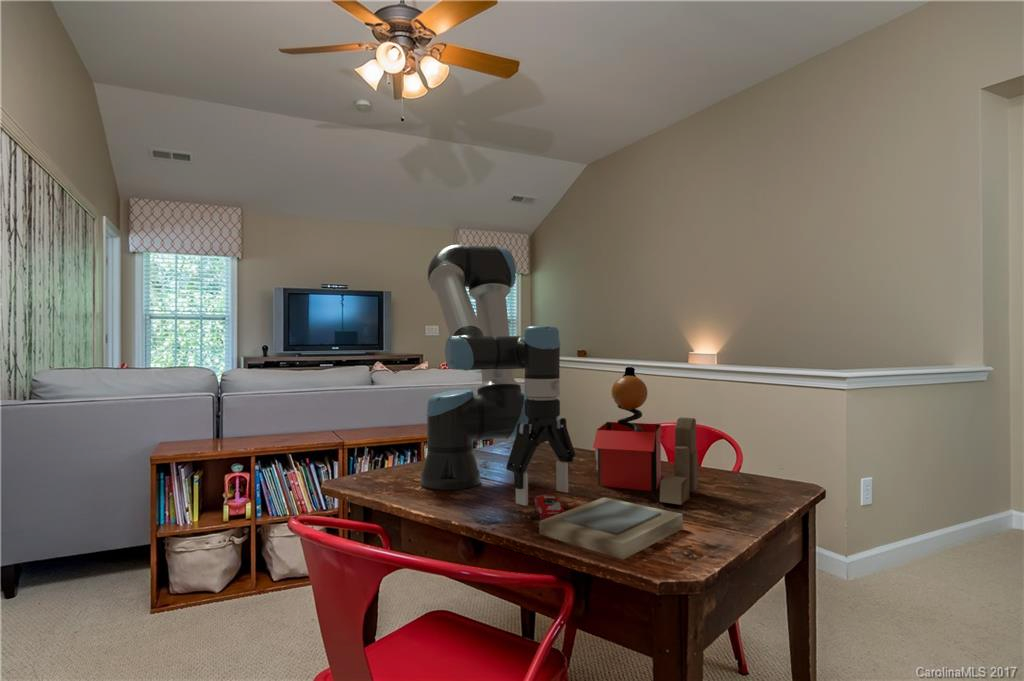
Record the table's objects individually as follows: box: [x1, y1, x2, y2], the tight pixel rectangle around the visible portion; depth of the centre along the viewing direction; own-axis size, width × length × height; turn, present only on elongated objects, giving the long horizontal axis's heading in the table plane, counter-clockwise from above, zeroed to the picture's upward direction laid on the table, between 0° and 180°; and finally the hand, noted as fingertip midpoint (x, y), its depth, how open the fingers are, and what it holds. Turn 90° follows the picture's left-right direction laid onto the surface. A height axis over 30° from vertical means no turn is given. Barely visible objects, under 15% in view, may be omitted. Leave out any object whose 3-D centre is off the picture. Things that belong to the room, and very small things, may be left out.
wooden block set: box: [659, 417, 699, 506], centre depth 132 cm, size 17×6×18 cm, turn 150°
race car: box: [533, 494, 565, 521], centre depth 119 cm, size 13×5×4 cm, turn 4°
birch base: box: [538, 496, 684, 560], centre depth 108 cm, size 18×22×3 cm
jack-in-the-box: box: [592, 366, 664, 492], centre depth 148 cm, size 26×16×30 cm, turn 160°
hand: (542, 497), depth 121 cm, fingers open, 13 cm apart
